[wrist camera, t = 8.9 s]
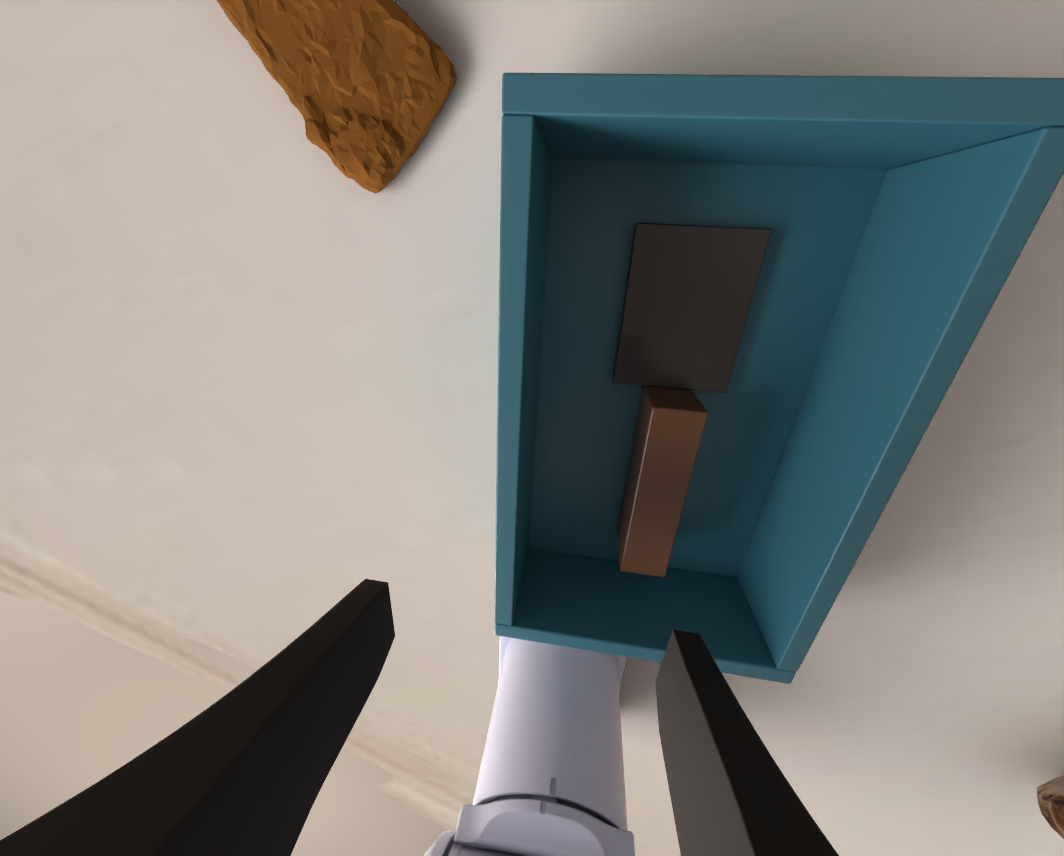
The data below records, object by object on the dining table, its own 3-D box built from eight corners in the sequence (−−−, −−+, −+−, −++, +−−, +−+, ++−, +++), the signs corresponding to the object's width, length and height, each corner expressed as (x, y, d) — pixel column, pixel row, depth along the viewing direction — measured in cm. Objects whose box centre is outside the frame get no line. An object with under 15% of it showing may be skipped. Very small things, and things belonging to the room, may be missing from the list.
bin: (744, 582, 21) (791, 685, 16) (515, 550, 22) (493, 635, 17) (913, 143, 13) (1116, 77, 8) (533, 133, 14) (502, 71, 9)
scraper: (681, 537, 20) (695, 582, 17) (591, 525, 20) (590, 567, 18) (765, 229, 14) (807, 225, 11) (634, 223, 14) (644, 217, 12)
